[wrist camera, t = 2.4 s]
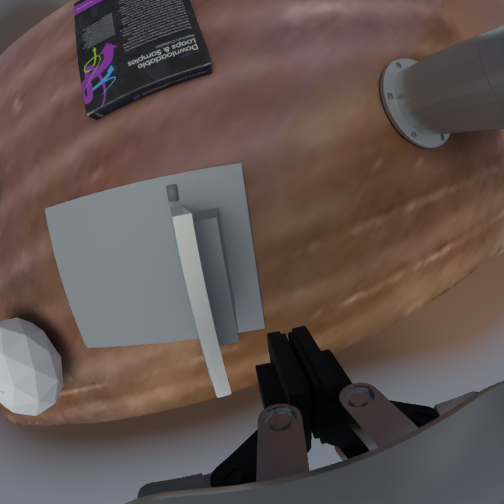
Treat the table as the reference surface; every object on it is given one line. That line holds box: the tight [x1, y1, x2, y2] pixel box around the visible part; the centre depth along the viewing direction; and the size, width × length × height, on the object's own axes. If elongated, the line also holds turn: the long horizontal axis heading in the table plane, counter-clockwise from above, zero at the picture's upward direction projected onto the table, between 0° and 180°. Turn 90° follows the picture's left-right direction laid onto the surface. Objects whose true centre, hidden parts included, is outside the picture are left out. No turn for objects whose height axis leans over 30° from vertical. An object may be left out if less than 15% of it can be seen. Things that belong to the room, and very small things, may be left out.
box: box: [74, 0, 212, 120], centre depth 20 cm, size 14×4×20 cm
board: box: [45, 163, 265, 348], centre depth 24 cm, size 23×18×9 cm
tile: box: [169, 204, 231, 398], centre depth 21 cm, size 13×12×1 cm
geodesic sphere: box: [0, 318, 63, 416], centre depth 23 cm, size 14×14×14 cm
